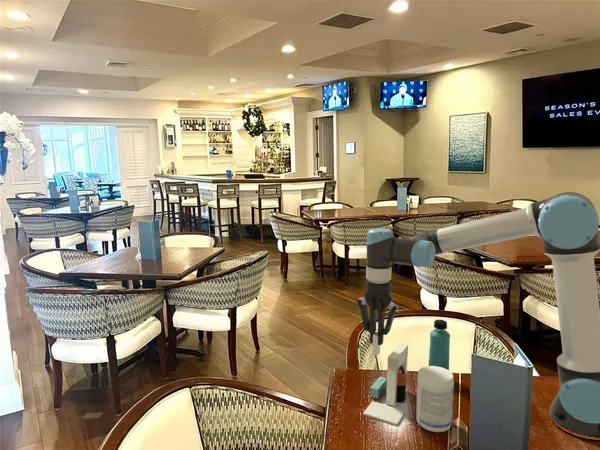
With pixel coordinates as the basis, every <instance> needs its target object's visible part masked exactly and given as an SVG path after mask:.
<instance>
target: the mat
mask: <svg viewBox="0 0 600 450" xmlns="http://www.w3.org/2000/svg"><path fill="white" fill-rule="evenodd" d="M362 415H363V416H366V417H368V418H371V419H375V420H379V421H381V422H384V423H387V424H389V425H393V426H397V427H398V425H399V423H400V422H401V421H402V419H403V417H404V416H405V415H406V411H405V410H402V409H399V408H397V407H396V408H395V407H394V406H391V405H387V404H383V403H380V402H379V403H378V402H376V401H374V400H372V401H371V403H370V404H369V405H368V406H367V407H366V408H365V410H364V411H363V413H362Z"/></svg>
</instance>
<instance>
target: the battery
mask: <svg viewBox="0 0 600 450" xmlns="http://www.w3.org/2000/svg"><path fill="white" fill-rule="evenodd" d="M407 376H408V374H407V375H406V373H405V370H404V368H403V365H401V366H400V367H399V368H398V370H397V392H396V403H402V404H403V403H406V400H407V399H406V397H407V396H406V394H407V380H406V377H407Z"/></svg>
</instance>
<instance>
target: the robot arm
mask: <svg viewBox="0 0 600 450" xmlns="http://www.w3.org/2000/svg"><path fill="white" fill-rule="evenodd" d="M599 220H600V219H599V215H598V212H597V210H596V208H595V206H594V204H593V202H592V201H591V200H590V199H589V198H588V197H587V196H585V195H583V194H581V193H578V192H574V191H567V192H561V193H558V194H555V195H553V196H551V197H548V198H545V199H542V200H539V201H538V200H537V201H534V202H531V203H529V204H528V206H527V207H526V208H525V207H524V208H522V209H517V210H513V211H509V212H508V211H507V212H504V213H500V214H497V215H491V216H487V217H482V218H478V219H475V220H471V221H467V222H462V223H459V224H453V225H450V226H445V227H440V228H437V229H433V230H424V231H421V232H419V233H418V234H417V235H415V236H413V237H410V238H406V237H405V238H402V237H395V236H394V232H393V230H391V229H389V228H385V227H384V228H381V227H380V228H379V227H378V228H371V229H369V230H368V231H367V234H366V235H367V236H366V243H365V244H366V262H365V263H366V264H365V266H366V267H365V270H366V271H365V278H366V280H365V294H364V296H363V297H360V298H358V300H356V303H357V305H358V307H359V309H360V314H361V319H362V320H361V321H362V323H363V329H364V331H365V332H367V333H369V343H370V344H372V350H371V351H372V352H371V353H372V354H371V355H372V356H376V357H377V356H379V354H380V353H381V346H382V345H383V344H384V336H387V335H388V334H389V333H390V332H391V329H392V325H393V322H394V319H395V315H396V311H397V310H398V309H399V308H400V305H399V304H397V303H395V302H393V298H392V296H391V293H392V282H391V280H392V272H393V271H392V268H393V266H392V265H393V264H398V265H405V266H412V267H416V268H430V267H431V266H432V265H433V262H435V258H436V256H437V255H438V256H439V255H441V254H445V253H446V254H447V253H450V252H456V251H460V250H464V249H465V250H466V249H470V248H475V247H480V246H486V245H490V244H496V243H501V242H505V241H510V240H511V241H512V240H515V239H520V238H524V237H530V236H531V237H532V236H536V237H538V238H541V241H542V247H543V254H544V255H545V256H547V258H550V260H551V266H552V273H553V279H554V280H553V281H554V282H553V283H554V288H555V290H554V291H555V296H556V305H557V306H556V307H557V314H558V323H559V331H560V332H559V333H560V338H561V339H560V340H561V348H562V350H561V351H562V353H561V354H560V355H559V356H557V358H556V362H557V363H556V365H557V375H558V381H559V386H558V387H559V388H558V391H557V393H556V396H555V397H554V399H553V401H552V403H551V405H550V406H549V413H548V415H549V414H550V417H551V418H552V419H553V420H554V421H555V422H556V423H557V424H558V425H560V426H561V427H563V428H565V429H567V430H569V431H571V432H573V433H576V434H580V435H584V436H588V437H595V438H600V302H599V294H598V292H599V291H598V284H597V276H596V267H595V266H596V265H595V258H594V257H595V256H596V255H597V254H598V253H599V252H600V233H599V232H600V231H599V226H600V224H599V223H600V221H599ZM367 305H368V306H367ZM368 307H369V311H368ZM388 307H389V312H388V315H387V319H386V321H385V318H386V317H385V315H386V314H385V313H386V309H387V308H388ZM385 322H386V323H385Z"/></svg>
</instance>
